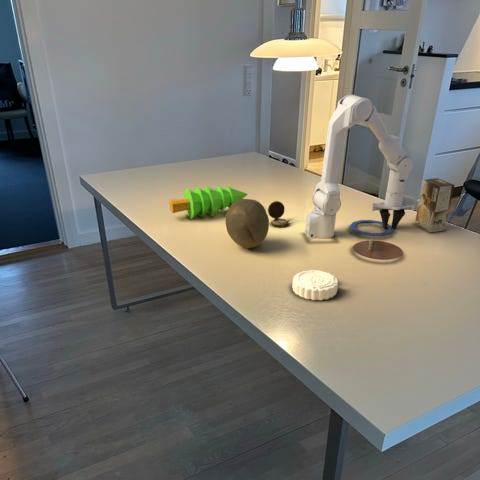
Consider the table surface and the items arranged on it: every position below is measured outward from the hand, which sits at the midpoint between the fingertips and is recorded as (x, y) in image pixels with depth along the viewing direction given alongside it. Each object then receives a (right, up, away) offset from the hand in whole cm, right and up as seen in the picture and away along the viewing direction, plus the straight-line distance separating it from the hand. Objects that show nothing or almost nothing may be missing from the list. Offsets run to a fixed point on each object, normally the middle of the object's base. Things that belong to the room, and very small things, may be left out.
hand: (388, 230), depth 169 cm
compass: (-37, +3, +6) cm, 37 cm away
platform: (-9, -10, -16) cm, 21 cm away
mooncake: (-31, -23, -38) cm, 54 cm away
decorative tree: (-62, +8, +13) cm, 64 cm away
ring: (-6, 0, 0) cm, 6 cm away
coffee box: (+15, +1, +4) cm, 16 cm away
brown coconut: (-49, -8, -12) cm, 51 cm away
